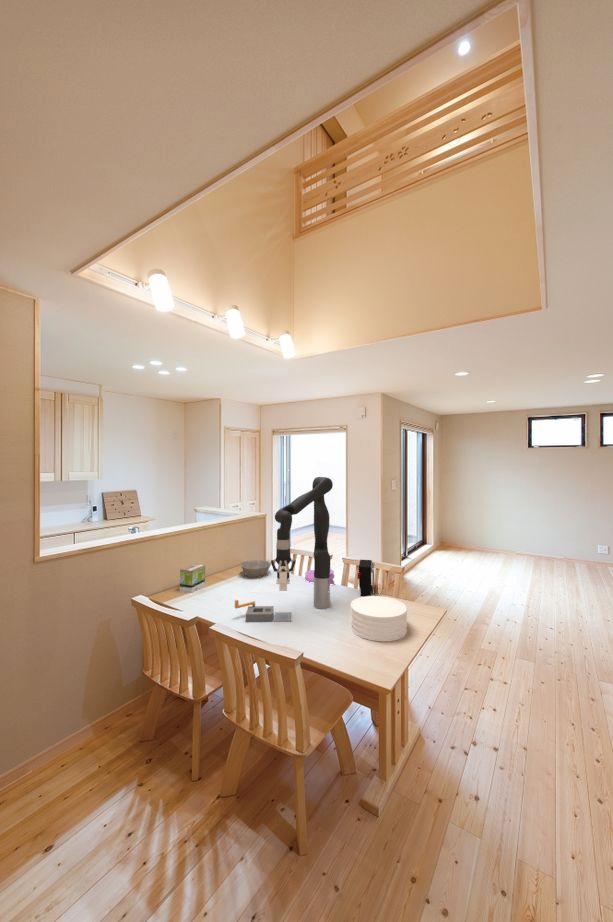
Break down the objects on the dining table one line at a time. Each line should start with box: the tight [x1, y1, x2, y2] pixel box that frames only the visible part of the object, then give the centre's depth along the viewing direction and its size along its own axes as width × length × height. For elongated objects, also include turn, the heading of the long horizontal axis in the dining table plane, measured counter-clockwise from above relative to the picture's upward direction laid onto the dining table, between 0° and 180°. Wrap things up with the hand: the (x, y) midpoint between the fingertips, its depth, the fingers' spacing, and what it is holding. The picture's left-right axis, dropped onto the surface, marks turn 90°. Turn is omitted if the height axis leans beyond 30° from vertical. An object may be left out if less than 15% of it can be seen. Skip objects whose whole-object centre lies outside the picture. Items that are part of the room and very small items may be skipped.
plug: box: [276, 568, 291, 592], centre depth 201 cm, size 7×7×11 cm
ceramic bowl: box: [239, 559, 272, 579], centre depth 271 cm, size 22×23×10 cm
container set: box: [304, 567, 335, 585], centre depth 257 cm, size 25×15×13 cm, turn 38°
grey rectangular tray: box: [245, 605, 275, 623], centre depth 200 cm, size 14×11×4 cm
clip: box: [234, 599, 256, 609], centre depth 202 cm, size 2×12×5 cm, turn 126°
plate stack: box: [350, 595, 408, 643], centre depth 188 cm, size 28×28×12 cm
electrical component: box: [357, 559, 376, 597], centre depth 236 cm, size 18×10×20 cm, turn 168°
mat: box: [273, 611, 292, 623], centre depth 200 cm, size 9×11×1 cm
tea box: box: [179, 563, 206, 594], centre depth 246 cm, size 15×10×15 cm, turn 162°
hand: (283, 578), depth 201 cm, fingers closed on plug, 4 cm apart
